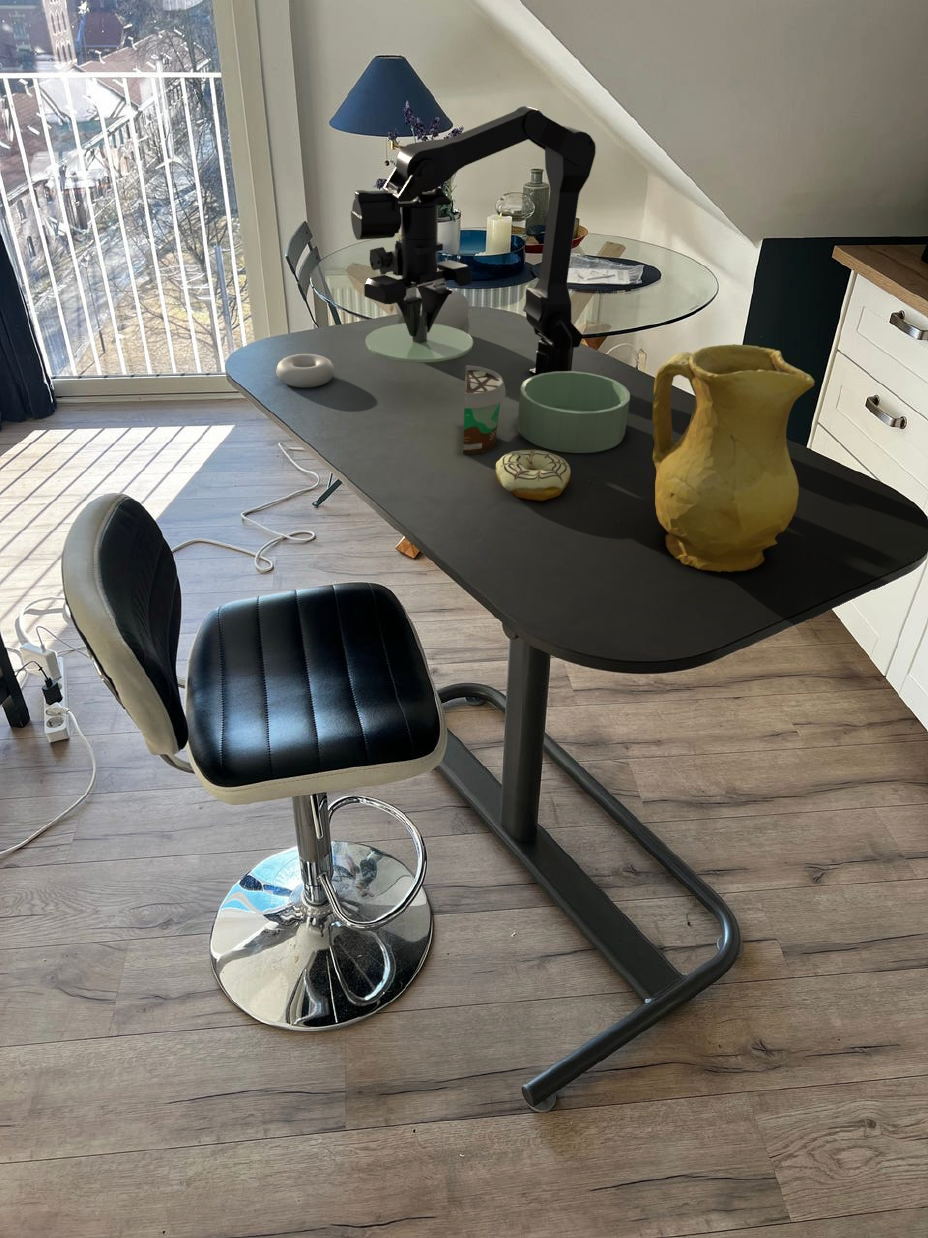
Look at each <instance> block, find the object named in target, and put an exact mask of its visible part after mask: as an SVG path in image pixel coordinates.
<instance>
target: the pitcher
mask: <svg viewBox="0 0 928 1238" xmlns="http://www.w3.org/2000/svg"><path fill="white" fill-rule="evenodd" d="M676 376H682V377H683V378H685V379H687V380H688V381H689V385H690V386H691V389H692V391H693V394H694V397H695V400H694V409H693V412H692V414H691V417H690V420H689V424H688V426H687V427H686V429H685V431H684V432H683V434H682V435H681V436H680V438H678V440H677V441H674V439H673V422H672V421H673V420H672V406H671V393H672V386H673V383H674V378H675V377H676ZM815 383H816V381H815V380H814V378H813V377H812V376H811V374H809V373H806V372H805V371H803V370H801V369H799V368H797V367H795V366H793V365H791V364H789V363H788V362H786V361H785V360H784V358H783V355H782V352H781V351H780V350H776V349H774V348H768V347H767V348H766V347H760V346H757V345H748V344H735V343H734V344H723V345H722V344H720V345H711V346H706V347H702V348H699V349H697V350H696V351H694V352H689V351H688V352H687V351H684V352H679V353H676V354H675V355H673V356H672V357H670V358H669V359H668V361H666V362H664V364H662V365H661V366H660V368H658V370H657V372H656V374H655V376H654V383H653V396H654V400H653V402H652V415H651V417H652V418H651V422H652V424H653V432H652V434H653V435H652V439H653V441H654V446H653V450H652V462H653V464H654V467H655V470H656V475H655V476H656V477H655V482H654V493H655V497H654V498H655V499H654V500H655V501H654V504H655V510H656V512H655V513H656V517H657V520H658V522H659V524H660V525H661V526H662V527H663V528H664V530H666V532H667V533H668V534H666V535H665V546H666V548H667V550H668V552H669V553H670V555H671V556H673V557H674V558H675V559H676V560H679V561H680V562H681V564H683V565H685V566H689V567H690V566H691V567H694V568H695V569H697V570H701V571H711V572H717V573H721V572H729V573H731V572H735V571H737V572H741V571H748V570H751V569H754V568H756V567H759V566H760V565H761V564H762V563H764V561H765V556H764V553H763V551H764V550H766V549H767V548H770V547H772V546H775V545H777V544H778V541H777V540H776V537H777V536H778V534H780V533H783V532H785V530H786V529H787V527H788V526H789V524H790V523H791V521H792V519H793V517H794V516H795V515H794V514H795V513H796V511H797V507H798V500H799V494H800V492H799V486H800V485H799V482H798V481H799V480H798V477H797V474H796V471H795V468H794V465H793V464H792V460H791V457H790V453H789V449H788V448H789V447H788V446H787V445H788V443H787V427H788V422H789V419H790V418H789V417H790V413H791V411H792V408H793V406H794V403H795V401H797V400H798V398H800V397H801V396H802V395H804V393H806V392H807V391H809V390H810V389H811V388H812V387H814V386H815Z"/></svg>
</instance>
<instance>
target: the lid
mask: <svg viewBox="0 0 928 1238" xmlns="http://www.w3.org/2000/svg"><path fill="white" fill-rule="evenodd" d="M365 346H366V348H367V349H368V351H370V352H371V353H373V354H374V355H376V356H379V357H383V358H385V359H389V360H393V361H398V362H406V363H407V362H408V363H436V362H442V361H443V362H444V361H449V360H453V359H458V358H460V357H462V356H464V355H466V354H468V353H470V352H471V350H472V349H473V348H474V339H473V337H471V335H470V334H469V333H468V334H467V333H465V332H464V331H462V330H459V329H456V328H453V327H449V326H445V325H439V324H433V325H432V327H431V329H430V331H429V333H427V312H424V311H420V317H419V323H418V329H417V333H416V336H415V337H412V336H410V334H409V332H408V329H407V326H406V323H403V324H397V323H396V324H390V325H385V326H383V327H379V328H377V329H375V330H373V331H371V332H370V333H368V335H366V338H365Z"/></svg>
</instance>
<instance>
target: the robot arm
mask: <svg viewBox="0 0 928 1238" xmlns="http://www.w3.org/2000/svg"><path fill="white" fill-rule="evenodd" d="M526 141H530V142H531V143H533V144H534V145H536V146H537V147H539V148H540V149H542V150H544V161H545V162H544V163H545V164H544V165H545V167H544V168H545V172H546V175H547V180H548V185H549V195H548V196H549V197H548V203H547V204H548V205H547V213H546V222H545V228H544V229H545V230H544V238H543V246H542V253H541V263H540V272H539V277H538V280H537V282H536V283H535V286H534V287H533V288H531V287H526V289H525V303H524V306H523V308H522V311H523V312H524V313H525V318H526V321H527V322H528V324H529V325H530V326H531V327H532V328H533V332H534V334H535V335H536V336H538V337H540V340H539V341H538V342H537V350H536V355H535V367H533V368H530V369H529V371H528V373H530V375H531V374H532V375H533V376H536V375H539V374H543V373H549V372H557V371H574V372H578V371H577V370H574V369H573V357H574V348H579V347H580V345H581V342H582V340H583V337H584V335H583V334H582V333H581V331H580V330H579V329H578V328H577V327H576V326H575V324H574V323H572V319H573V318H572V317H573V316H572V314H573V312H572V299H571V294H570V291H569V287H568V278H569V272H570V263H571V257H572V256H571V255H572V249H573V242H574V235H575V227H576V219H577V212H578V206H579V197H580V193H581V191H582V189H583V187H584V186H585V184H586V182H587V181H588V179H589V177H590V175H591V171H592V168H593V165H594V161H595V158H596V153H597V152H596V151H597V150H596V148H597V147H596V142H595V141H594V139H593V138H592V136H591V135H590V134H589V133H587V132H586V131H582V130H579V129H576V128H573V127H570V126H566V125H561V124H560V123H558V122H557V121H554V120H552V119H551V118H549V117H547V115H545V114H543V113H542V112H541V111H540V110H539V109H536V108H533V107H530V106H526V105H524V106H520V107H518V108H516V110H514V111H512V112H510V113H507V114H505V115H503V116H500V117H498V118H495V119H492V120H490V121H488V122H485V123H483V124H480V125H478V126H476V127H473V128H471V129H469V130H465V131H464V132H461V133H459V134H457V135H454V136H452V137H448V138H442V139H429V140H423V141H418V142H412V143H409V144H407V145H405V146H403V147H402V148H401V149H400V150H399V153H398V155H397V158H396V162H395V163H396V164H395V167H394V169H393V170H392V172H391V174H390V175H389V177H388V178H387V181H386V182H385V184H384V185H383V187H382V190H366V189H365V190H364V189H362V190H361V189H359V190H358V189H357V190H355V191H354V199H353V202H352V206H351V211H350V222H351V227H352V232H353V235H354V238H355V239H356V240H358V241H360V240H361V241H362V240H363V241H364V240H376V239H378V240H379V239H391V238H394V237H395V235H396V234H399V233H400V239H399V240H395V243H394V250H392V251H387V250H386V249H385V247H383V246H381V247H376V248H371V249H369V265H370V267H371V269H372V271H377V270H378V271H379V273H380V275H377V276H372V277H369V278H367V279H366V281H365V282H364V286H363V290H364V292H363V293H364V297H365V298H368V299H371V300H372V301H373V300H374V301H376V302H378V303H380V304H384V305H394V304H396V303H397V304H398V306H399V308H400V310H401V312H402V315H403V318H404V320H405V323H406V326H407V329H408V332H409V334H410V336H412V337H415V336H416V333H417V329H418V323H419V317H420V310H421V304H422V311H424V312H427V333H429V331H430V329H431V327H432V325H433V323H434V321H435V319H436V317H437V315H438V313H439V311H440V309H441V307H442V306H443V304H444V302H445V301H446V299H447V297H448V295H450V294H452V290H453V289H450V288H448V287H447V285H448V284H447V282H448V281H454V283H455V285H457V287H460V288H461V287H465V286H470V285H472V284H473V283H472V279H473V272H472V270H471V268H470V267H469V265H467V264H465V263H461V262H457V261H456V260H455V261H454V260H452V259H448V260H443V261H440V262H438V252H441V251H443V250H444V243H442V242H440V241H438V240H439V238H438V237H439V236H438V235H439V234H438V232H439V206H449V205H451V204H452V199H450V198H449V197H448V196H447V195H446V194H445V192H444V191H443V188H442V187H440V186H442V185H444V184H445V183H446V182H448V181H449V180H451V178H453V176H454V175H456V174H457V173H458V171H460V170H461V169H463V168H464V167H467V166H469V165H471V164H473V163H475V162H478V161H480V160H483V159H485V158H487V157H490V156H492V155H494V154H497V153H499V152H501V151H504V150H506V149H509V148H512V147H513V146H516V145H518V144H522V143H523V142H526ZM390 272H392V275H394V276H396V277H399V276H400V277H401V278H395V277H392V276H389V275H387V273H390ZM412 282H414V283H412ZM417 288H418V291H419V293H420V295H421V298H419V297H416V289H417Z"/></svg>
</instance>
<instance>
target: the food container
mask: <svg viewBox="0 0 928 1238" xmlns="http://www.w3.org/2000/svg"><path fill="white" fill-rule="evenodd" d="M464 378H465V379H464V381H465V382H464V404H463V405H464V408H463V409H464V410H463V432H462V433H463V438H462V455H474V454H481V453H484V452H487V451H489V450H491V449H493V448H494V446H495V444H496V439H497V432H498V431H497V430H498V424H499V416H500V409H501V408H500V407H501V402H502V401H503V400H504V399H505V397H506V395H507V393H506V392H507V391H506V386H505V385H506V384H505V382H504V379H503V377H502V376H501V374H499V373H497V372H496V371H494V370H493V369H489V368H486V367H483V366H477V365H469V364H468V365H467V364H466V365H465V377H464Z"/></svg>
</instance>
